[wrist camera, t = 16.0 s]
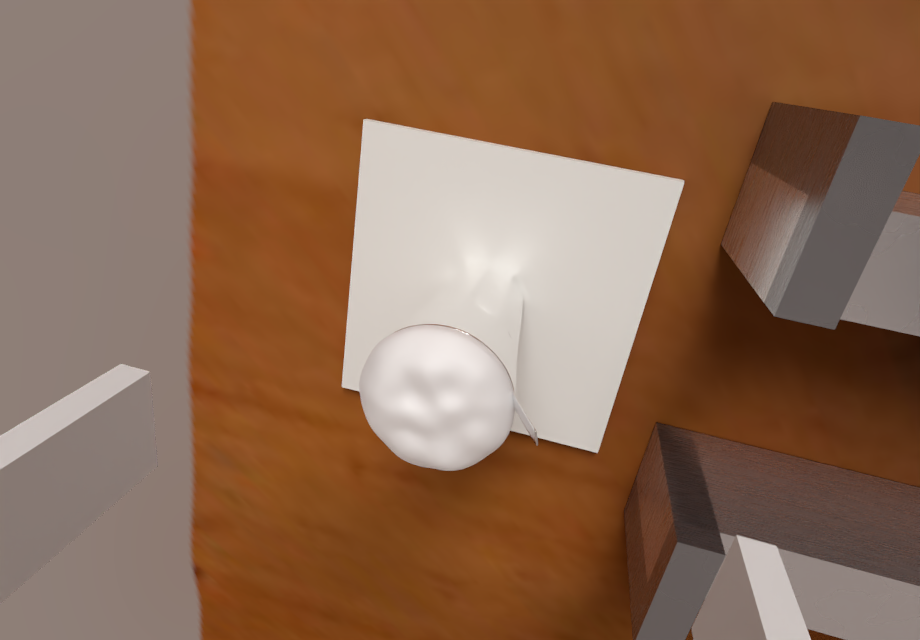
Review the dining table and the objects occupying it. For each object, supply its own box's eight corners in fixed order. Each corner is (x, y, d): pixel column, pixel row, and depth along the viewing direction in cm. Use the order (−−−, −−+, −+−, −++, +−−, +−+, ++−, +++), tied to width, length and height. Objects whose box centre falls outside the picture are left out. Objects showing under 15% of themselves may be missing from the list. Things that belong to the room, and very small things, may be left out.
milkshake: (564, 347, 24) (545, 514, 15) (439, 352, 25) (352, 507, 16) (555, 240, 22) (528, 355, 13) (422, 251, 23) (314, 361, 14)
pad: (683, 179, 21) (684, 181, 20) (597, 447, 26) (597, 453, 25) (367, 118, 22) (363, 119, 22) (345, 382, 27) (341, 387, 27)
